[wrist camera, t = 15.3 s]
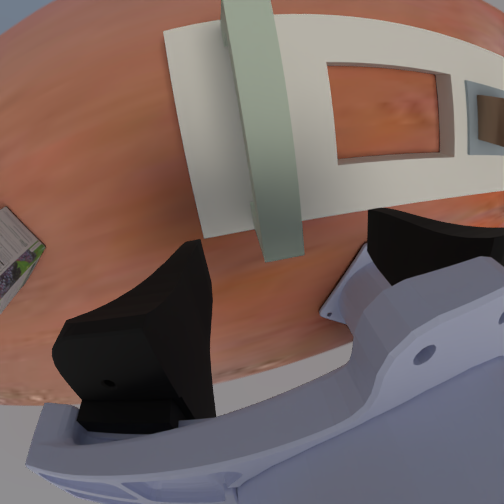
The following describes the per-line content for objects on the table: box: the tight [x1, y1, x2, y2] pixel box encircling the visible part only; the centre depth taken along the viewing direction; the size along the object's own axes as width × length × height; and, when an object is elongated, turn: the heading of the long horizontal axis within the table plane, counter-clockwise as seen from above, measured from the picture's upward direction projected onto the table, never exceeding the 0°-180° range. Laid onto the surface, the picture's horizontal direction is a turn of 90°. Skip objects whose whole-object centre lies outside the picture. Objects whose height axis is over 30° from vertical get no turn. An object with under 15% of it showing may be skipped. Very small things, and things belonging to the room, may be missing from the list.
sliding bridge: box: [220, 0, 304, 262], centre depth 14 cm, size 2×13×5 cm, turn 9°
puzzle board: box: [163, 14, 504, 239], centre depth 17 cm, size 30×14×2 cm, turn 99°
